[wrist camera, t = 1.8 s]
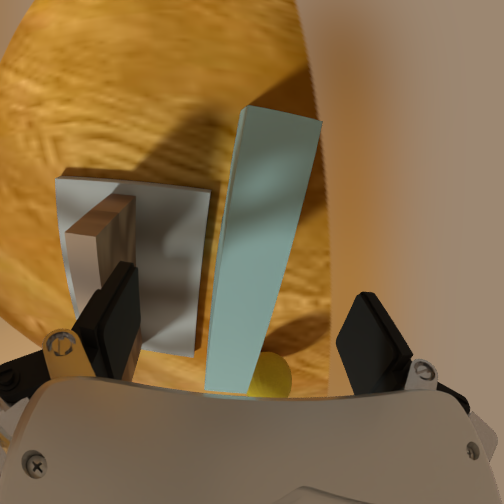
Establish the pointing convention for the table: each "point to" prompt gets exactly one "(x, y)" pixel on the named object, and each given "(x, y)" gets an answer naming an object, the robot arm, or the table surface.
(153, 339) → the base
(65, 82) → the table surface
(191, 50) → the table surface
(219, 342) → the notched plate
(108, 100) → the table surface
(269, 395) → the lemon
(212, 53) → the table surface
